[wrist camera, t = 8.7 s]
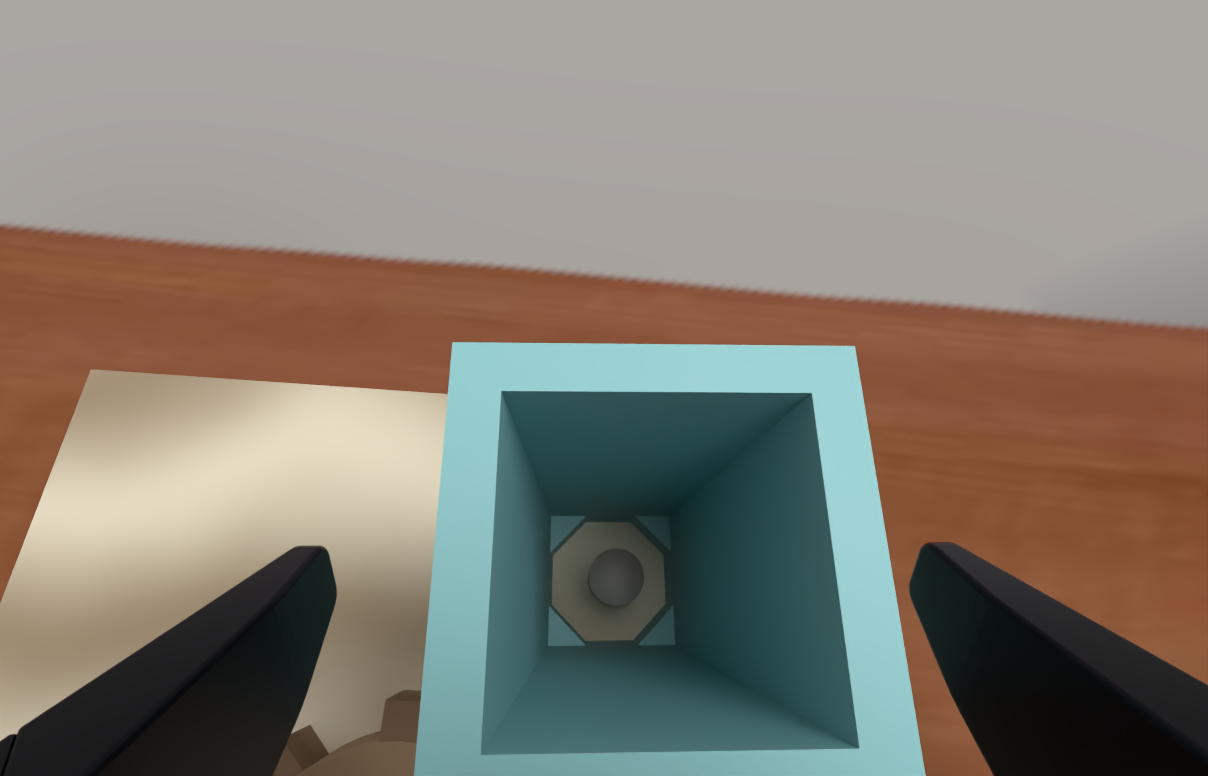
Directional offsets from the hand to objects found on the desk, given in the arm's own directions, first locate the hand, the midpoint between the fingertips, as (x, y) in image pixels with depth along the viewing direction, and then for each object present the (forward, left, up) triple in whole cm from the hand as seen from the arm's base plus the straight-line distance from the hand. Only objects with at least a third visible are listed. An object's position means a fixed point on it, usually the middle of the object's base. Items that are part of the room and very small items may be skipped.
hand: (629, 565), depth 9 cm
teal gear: (0, 0, -7) cm, 7 cm away
